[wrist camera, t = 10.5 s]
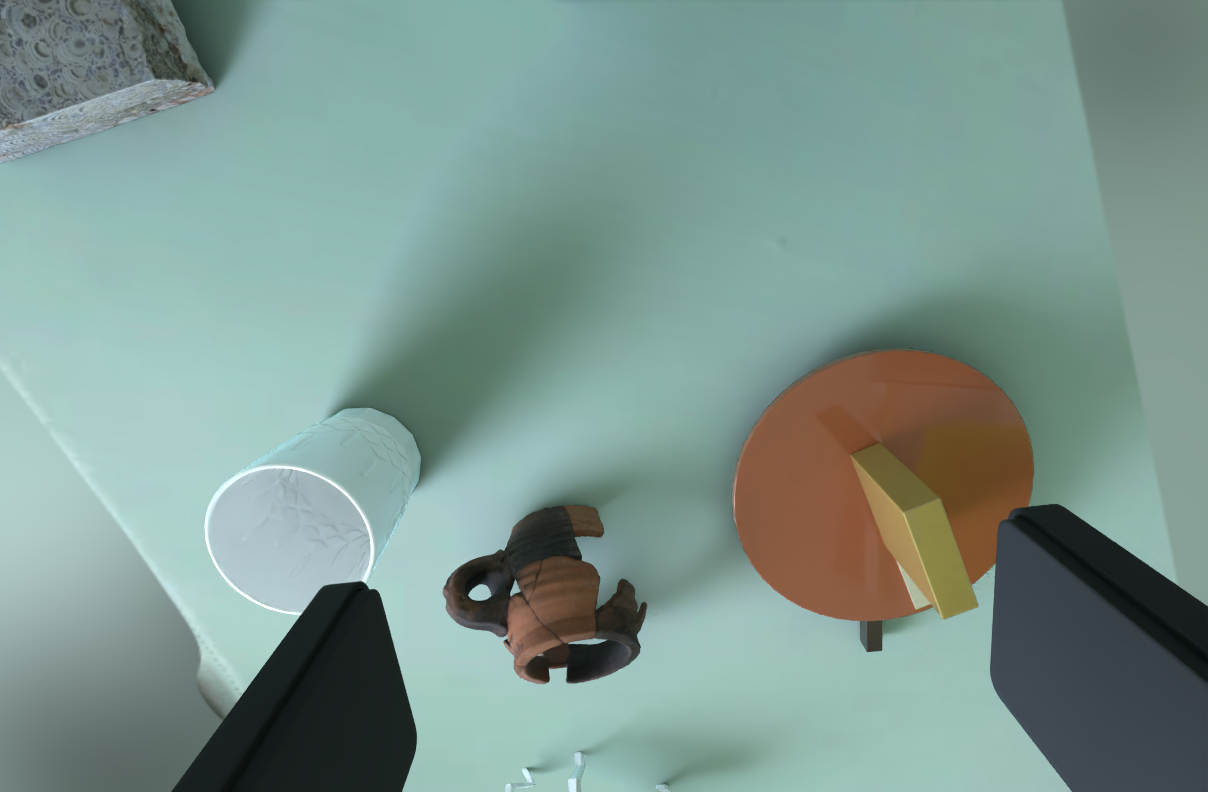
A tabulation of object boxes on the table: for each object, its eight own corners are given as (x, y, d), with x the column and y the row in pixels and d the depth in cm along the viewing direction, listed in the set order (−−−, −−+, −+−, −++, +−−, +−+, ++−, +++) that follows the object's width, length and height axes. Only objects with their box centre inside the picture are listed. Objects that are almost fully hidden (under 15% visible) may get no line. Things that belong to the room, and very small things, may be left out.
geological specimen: (181, 68, 29) (-125, 177, 29) (246, 88, 35) (-11, 178, 35) (43, -221, 25) (-298, -92, 26) (140, -146, 31) (-141, -42, 32)
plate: (981, 295, 35) (1081, 323, 27) (1058, 552, 39) (1162, 635, 32) (685, 423, 37) (704, 481, 29) (791, 652, 41) (830, 751, 34)
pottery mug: (644, 496, 41) (675, 621, 35) (609, 573, 47) (630, 689, 42) (447, 494, 37) (446, 633, 32) (438, 577, 44) (436, 705, 38)
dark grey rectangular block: (779, 409, 39) (786, 418, 37) (950, 388, 38) (965, 396, 37) (791, 647, 43) (798, 663, 42) (944, 631, 43) (956, 647, 41)
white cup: (341, 371, 38) (252, 430, 29) (456, 445, 39) (407, 525, 30) (279, 471, 40) (175, 558, 30) (390, 539, 41) (324, 642, 32)
